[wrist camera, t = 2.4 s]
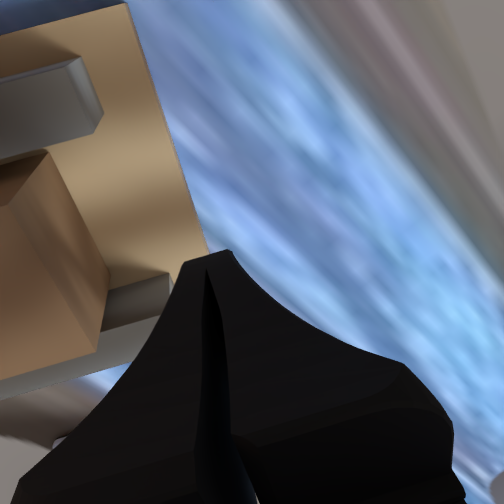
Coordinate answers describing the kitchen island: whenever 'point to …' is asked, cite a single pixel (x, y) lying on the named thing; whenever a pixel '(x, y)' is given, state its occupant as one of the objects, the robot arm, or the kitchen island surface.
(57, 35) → the chute board
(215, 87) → the kitchen island surface
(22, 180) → the walnut block
